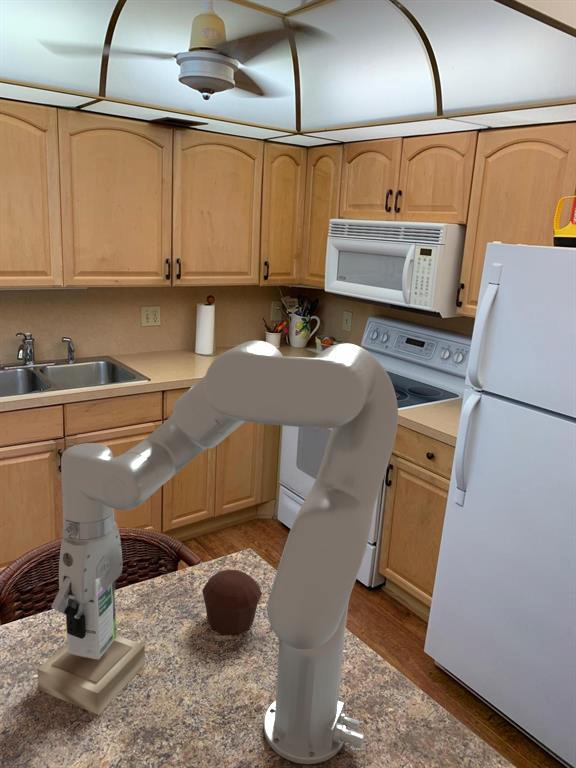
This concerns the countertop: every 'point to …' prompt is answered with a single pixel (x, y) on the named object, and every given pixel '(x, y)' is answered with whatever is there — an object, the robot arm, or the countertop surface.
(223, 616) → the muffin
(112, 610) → the syrup box
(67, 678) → the base block
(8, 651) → the countertop surface
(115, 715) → the countertop surface
